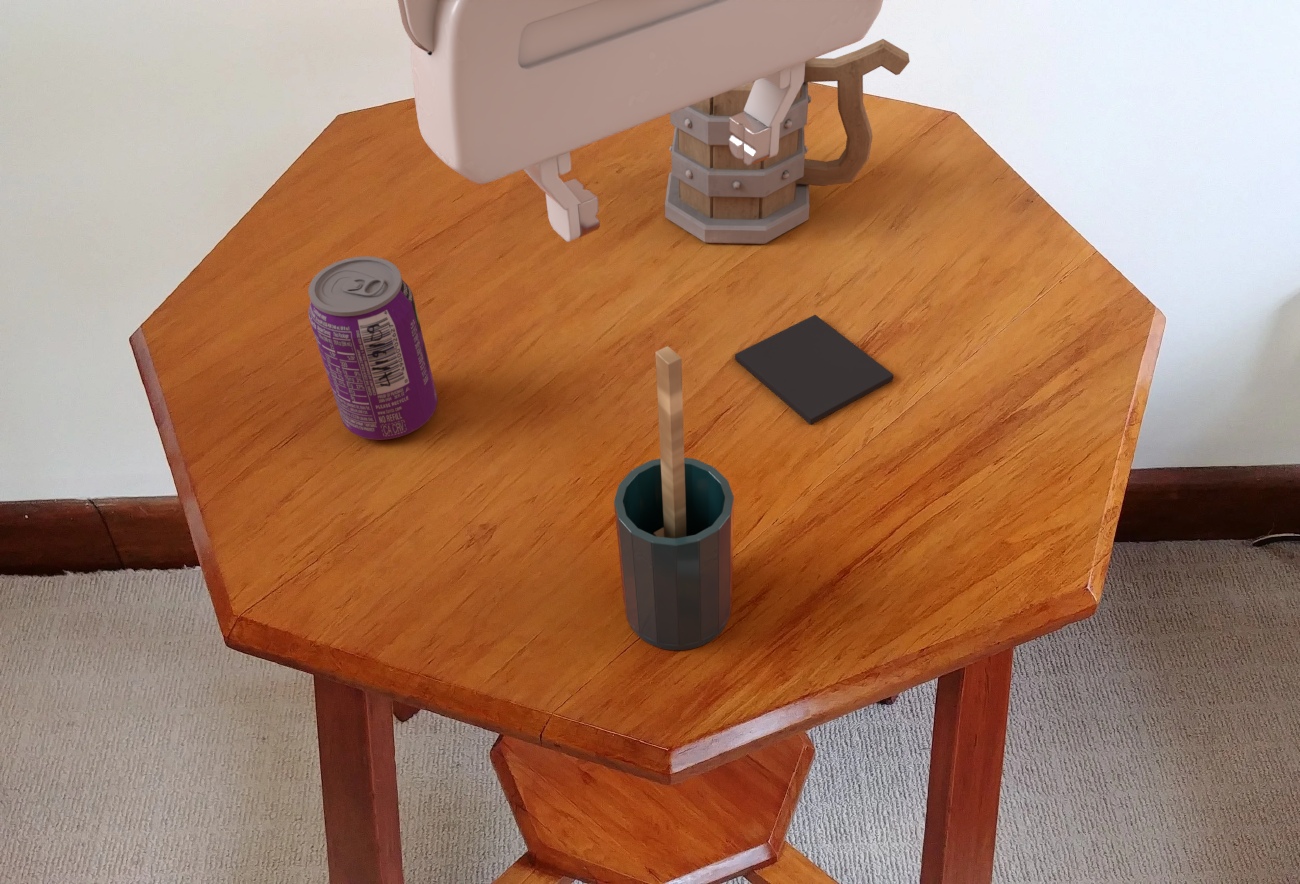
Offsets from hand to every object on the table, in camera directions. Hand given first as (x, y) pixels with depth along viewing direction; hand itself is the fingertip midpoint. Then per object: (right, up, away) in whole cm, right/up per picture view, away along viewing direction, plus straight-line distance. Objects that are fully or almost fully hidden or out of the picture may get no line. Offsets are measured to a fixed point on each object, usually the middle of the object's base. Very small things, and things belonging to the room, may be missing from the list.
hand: (667, 191), depth 49 cm
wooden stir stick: (+1, -21, +21) cm, 29 cm away
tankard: (+11, +10, +52) cm, 54 cm away
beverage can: (-20, -9, +35) cm, 41 cm away
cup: (+1, -21, +21) cm, 30 cm away
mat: (+12, -5, +36) cm, 38 cm away
